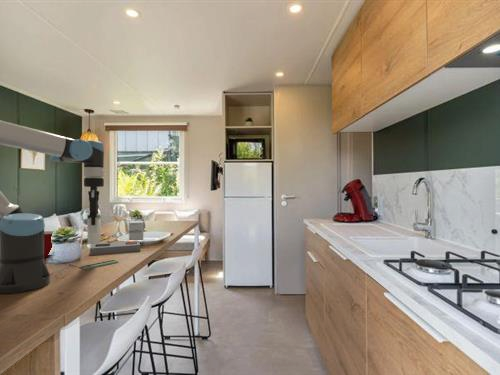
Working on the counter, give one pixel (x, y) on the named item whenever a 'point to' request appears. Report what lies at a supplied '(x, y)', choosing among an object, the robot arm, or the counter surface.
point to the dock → (114, 247)
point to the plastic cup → (47, 243)
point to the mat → (97, 264)
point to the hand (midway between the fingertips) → (93, 231)
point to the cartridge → (94, 237)
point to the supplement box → (136, 230)
